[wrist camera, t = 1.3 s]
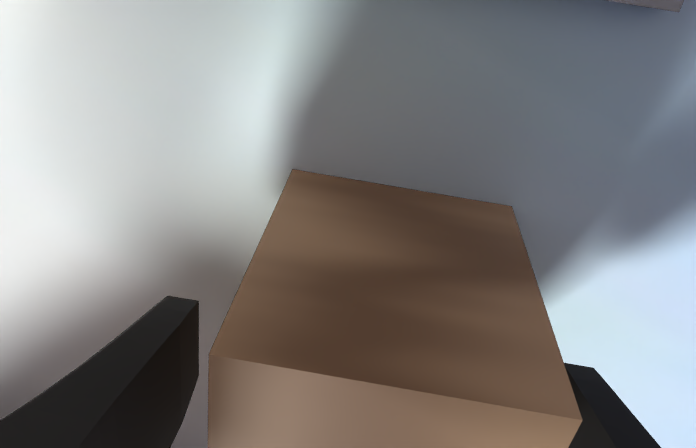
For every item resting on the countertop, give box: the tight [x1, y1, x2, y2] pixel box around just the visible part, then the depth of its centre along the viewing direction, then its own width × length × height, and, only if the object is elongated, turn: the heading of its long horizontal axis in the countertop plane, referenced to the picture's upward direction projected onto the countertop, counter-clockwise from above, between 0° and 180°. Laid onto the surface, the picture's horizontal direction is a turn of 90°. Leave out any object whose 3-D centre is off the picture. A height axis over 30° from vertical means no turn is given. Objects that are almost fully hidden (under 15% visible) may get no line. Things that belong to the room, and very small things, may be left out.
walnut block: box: [208, 169, 582, 448], centre depth 11 cm, size 5×5×6 cm
